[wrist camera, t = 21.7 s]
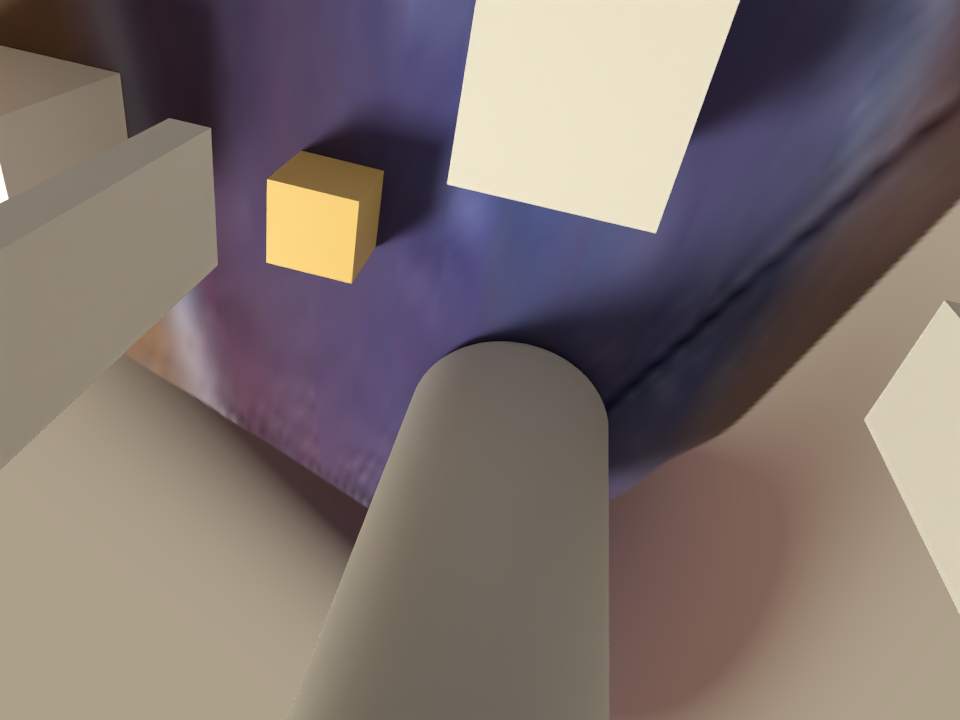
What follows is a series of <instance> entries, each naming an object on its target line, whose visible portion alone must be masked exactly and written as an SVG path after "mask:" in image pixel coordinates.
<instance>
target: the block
mask: <svg viewBox="0 0 960 720" xmlns="http://www.w3.org/2000/svg"><path fill="white" fill-rule="evenodd" d="M383 176H384V171H383V170H379V169H375V168H371V167H366V166H362V165H358V164H354V163H350V162H346V161H342V160H338V159H334V158H330V157H326V156H322V155H317V154H313V153H309V152H305V151H300V152H299V153H298V154H297V155H295V156H294V157H293V158H292V159H291V160H289V161H288V162H287V163H286V164H285V165H283V166H282V167H281V168H280V169H279V170H277V171H276V172H275V173H274V174H273V175H271V176H270V177H269V178H268V179H267V255H266V263H270V264H274V265H278V266H282V267H286V268H291V269H295V270H299V271H303V272H307V273H311V274H315V275H319V276H323V277H327V278H331V279H335V280H339V281H343V282H347V283H351V284H352V282H353V281H354V279H355V278H356V276H357V275H358V273H359V272H360V270H361V269H362V267H363V266H364V264H365V263H366V261H367V259H368V258H369V256H370V255H371V253H372V252H373V250H374V249H375V247H376V239H377V230H378V221H379V212H380V203H381V194H382V185H383Z"/></svg>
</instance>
